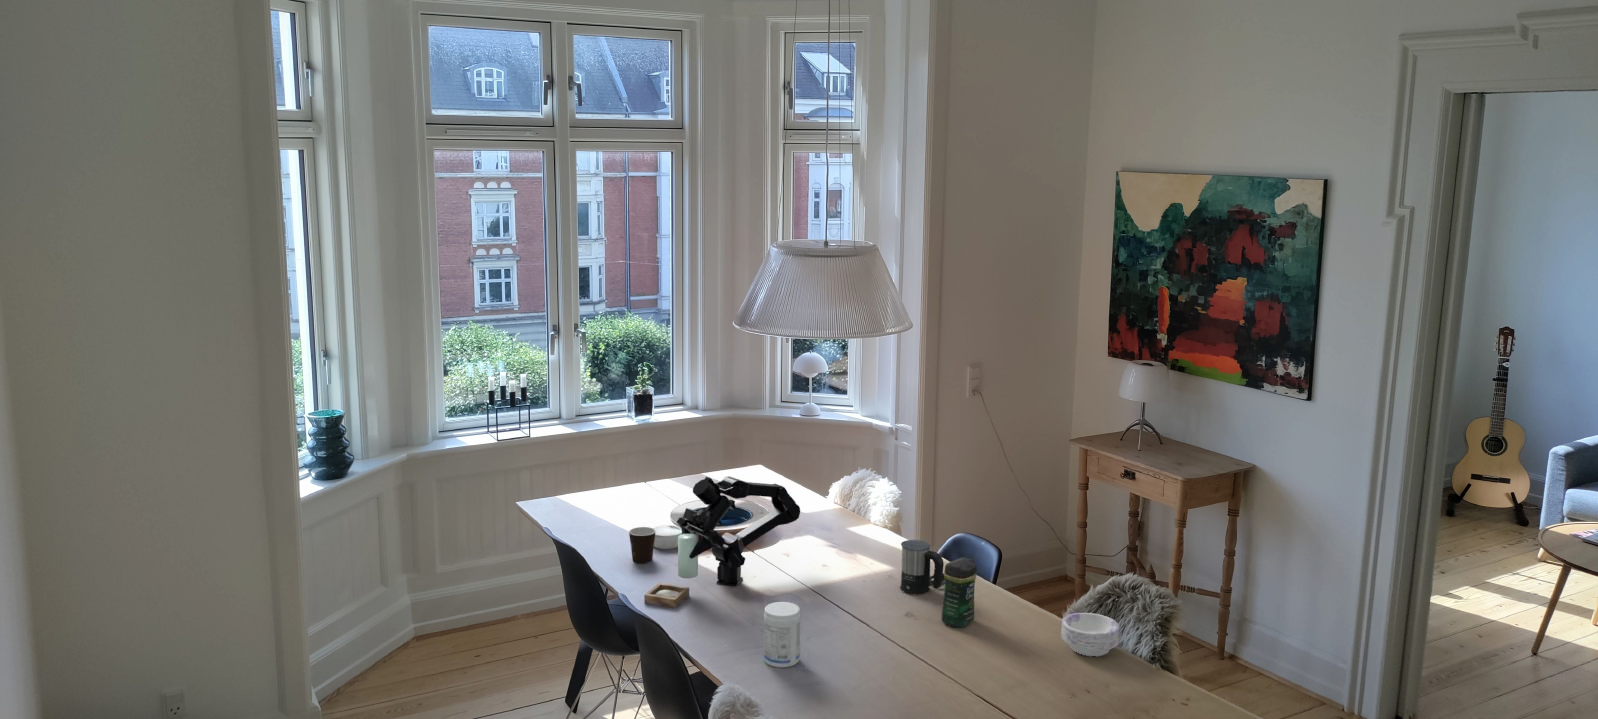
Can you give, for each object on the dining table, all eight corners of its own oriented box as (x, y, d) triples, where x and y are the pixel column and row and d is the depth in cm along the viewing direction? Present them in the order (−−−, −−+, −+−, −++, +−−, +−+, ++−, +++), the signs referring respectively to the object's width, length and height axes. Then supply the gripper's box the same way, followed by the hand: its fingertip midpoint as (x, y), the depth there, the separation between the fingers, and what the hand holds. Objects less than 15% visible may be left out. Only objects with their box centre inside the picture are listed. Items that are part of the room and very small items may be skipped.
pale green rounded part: (698, 570, 331) (698, 533, 329) (697, 578, 326) (697, 540, 323) (678, 570, 331) (678, 533, 329) (677, 578, 325) (677, 540, 323)
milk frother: (896, 593, 333) (898, 547, 330) (907, 575, 348) (909, 531, 345) (942, 599, 329) (944, 552, 326) (951, 581, 344) (953, 536, 341)
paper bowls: (1064, 634, 306) (1066, 607, 304) (1120, 643, 300) (1122, 616, 299) (1056, 656, 292) (1058, 628, 290) (1114, 666, 286) (1116, 638, 285)
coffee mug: (650, 566, 351) (650, 536, 350) (625, 563, 353) (625, 534, 351) (662, 553, 362) (662, 525, 361) (637, 551, 364) (637, 523, 362)
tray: (689, 595, 328) (689, 587, 327) (674, 607, 318) (674, 599, 318) (659, 590, 331) (659, 582, 330) (644, 603, 322) (644, 594, 321)
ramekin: (689, 543, 373) (689, 528, 372) (669, 552, 364) (669, 537, 363) (664, 537, 379) (664, 522, 378) (643, 546, 370) (643, 531, 369)
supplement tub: (781, 649, 292) (782, 598, 290) (807, 660, 286) (808, 608, 284) (755, 660, 285) (756, 608, 283) (781, 672, 279) (782, 618, 277)
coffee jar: (960, 631, 306) (963, 568, 303) (937, 623, 311) (940, 561, 308) (978, 620, 314) (981, 559, 310) (955, 613, 319) (958, 553, 315)
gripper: (681, 491, 334) (651, 532, 329) (717, 506, 320) (685, 549, 315) (702, 510, 340) (673, 551, 335) (738, 526, 326) (708, 569, 321)
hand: (684, 554), depth 326 cm, fingers closed on pale green rounded part, 6 cm apart
